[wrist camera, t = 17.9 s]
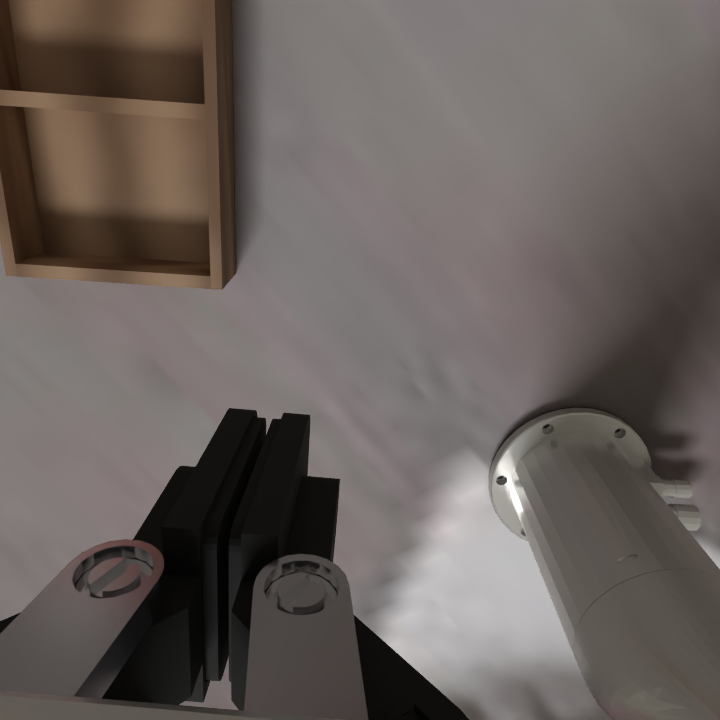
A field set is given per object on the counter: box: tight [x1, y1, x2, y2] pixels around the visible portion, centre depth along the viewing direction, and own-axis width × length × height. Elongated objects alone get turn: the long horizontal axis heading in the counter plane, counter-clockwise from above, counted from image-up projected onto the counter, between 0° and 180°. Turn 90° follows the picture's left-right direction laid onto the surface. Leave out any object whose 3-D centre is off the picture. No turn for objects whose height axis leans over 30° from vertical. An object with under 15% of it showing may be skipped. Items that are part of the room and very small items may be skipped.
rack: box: [0, 0, 236, 290], centre depth 32 cm, size 14×30×5 cm, turn 176°
